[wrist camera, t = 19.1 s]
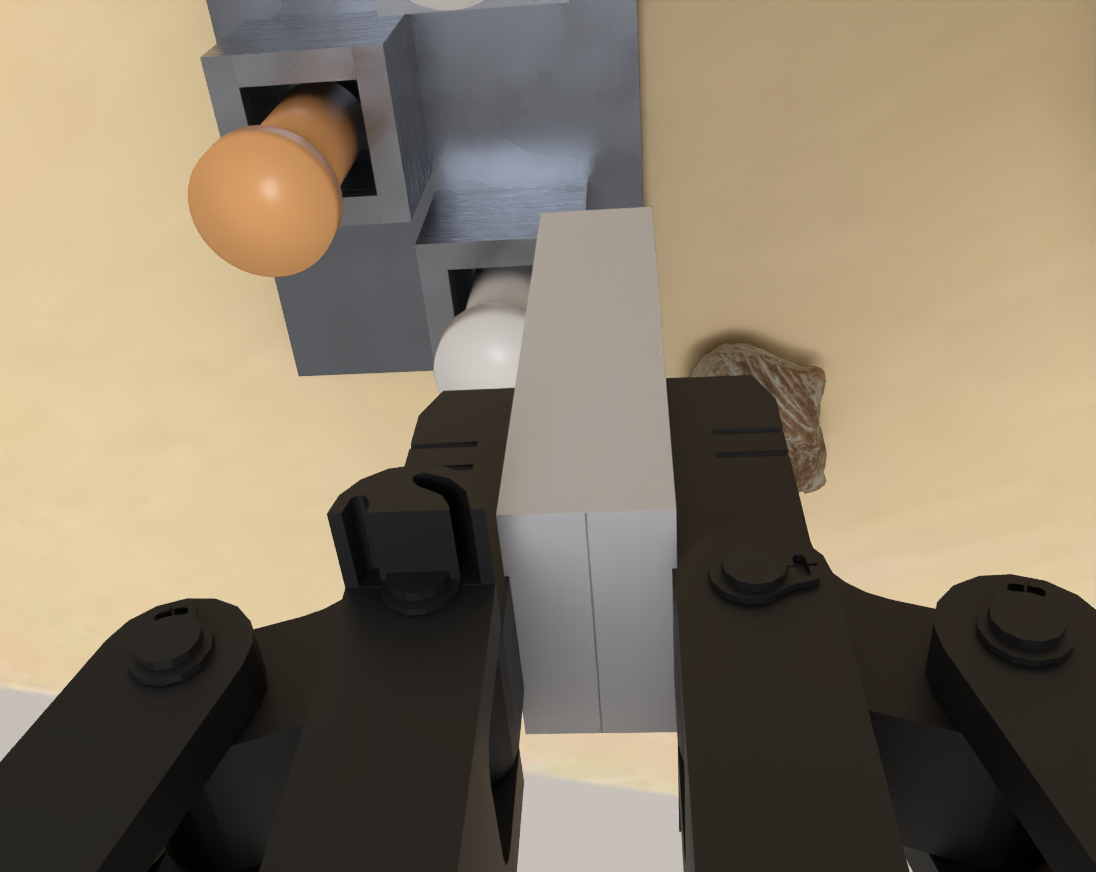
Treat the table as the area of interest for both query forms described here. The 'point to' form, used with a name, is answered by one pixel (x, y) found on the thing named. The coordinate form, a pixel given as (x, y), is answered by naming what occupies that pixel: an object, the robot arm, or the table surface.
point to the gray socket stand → (436, 149)
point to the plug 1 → (446, 4)
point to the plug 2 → (485, 333)
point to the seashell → (781, 402)
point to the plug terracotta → (279, 182)
